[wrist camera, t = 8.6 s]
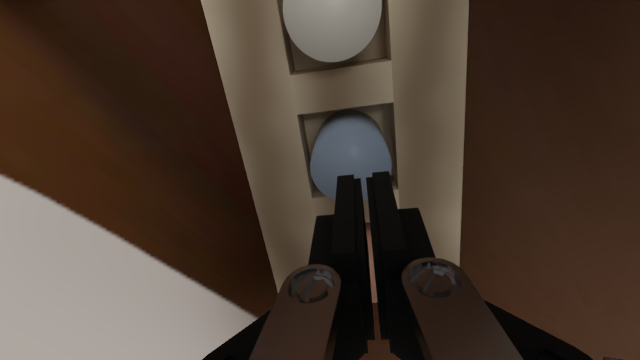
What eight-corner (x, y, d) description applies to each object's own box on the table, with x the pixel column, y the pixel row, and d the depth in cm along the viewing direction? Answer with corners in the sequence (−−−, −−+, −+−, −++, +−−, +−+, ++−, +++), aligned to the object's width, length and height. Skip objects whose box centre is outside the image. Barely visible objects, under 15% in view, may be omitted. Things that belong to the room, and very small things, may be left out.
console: (450, -103, 15) (473, -130, 13) (445, 267, 25) (458, 297, 22) (208, -54, 17) (182, -69, 14) (288, 278, 26) (282, 308, 23)
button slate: (380, 105, 18) (389, 123, 15) (385, 170, 20) (393, 199, 17) (310, 114, 19) (303, 134, 16) (320, 177, 21) (316, 207, 17)
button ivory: (370, -41, 16) (378, -59, 12) (376, 48, 17) (384, 54, 14) (288, -26, 16) (273, -39, 13) (302, 60, 18) (292, 68, 14)
